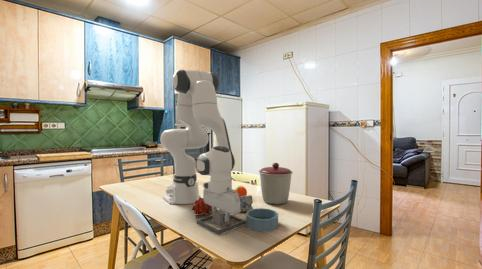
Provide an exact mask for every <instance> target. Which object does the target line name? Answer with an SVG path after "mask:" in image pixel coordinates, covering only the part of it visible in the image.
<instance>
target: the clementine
mask: <svg viewBox="0 0 482 269" xmlns="http://www.w3.org/2000/svg"><path fill="white" fill-rule="evenodd" d="M234 190H236V192H237V193H238V194H239V197H240V196H248V195H247V193H248V191H247V188H246V187H245V186H243V185H238V186H237V187H236V188H234Z"/></svg>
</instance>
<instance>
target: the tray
mask: <svg viewBox="0 0 482 269" xmlns="http://www.w3.org/2000/svg"><path fill="white" fill-rule="evenodd" d="M230 220H232V221H234V222H235V223H232V224H228V225H226V226H223V227H220V228H219V229H218V228H216V227H214V226H212V225H210V224H208V223H206V222H209V221H213V214H211V215H208V216H207V215H206V216H204V217H201V218H198V219H196V224H197V225H198V226H199V227H202V228H204V229H206V230H208V231H210V232H211V233H213V234H215V235H217V236H219V235H222V234H225V233H226V232H229V231H231V230H235V229H237V228H239V227H243V226H245V225H246V219H243V218H240V217H239V216H235V215H232V214H230Z"/></svg>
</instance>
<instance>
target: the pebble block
mask: <svg viewBox="0 0 482 269" xmlns="http://www.w3.org/2000/svg"><path fill="white" fill-rule="evenodd" d="M212 215H213V219H212V224H213V225H215V226H217V227H219V228H223V227H226V226H228V225H231V224H230V220H231V219H230V216H229V221H228V222H225V221H223V217H225V215H226V214H225V211H223V210H220V209H217V210H216V211H213V210H212Z"/></svg>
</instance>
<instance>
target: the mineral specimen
mask: <svg viewBox="0 0 482 269" xmlns="http://www.w3.org/2000/svg"><path fill="white" fill-rule="evenodd" d="M239 199H240V212H243V213H244V212H247V211H249V210H252V209H254V208H253V206H252V204H253V195H246V196H240V197H239Z"/></svg>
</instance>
